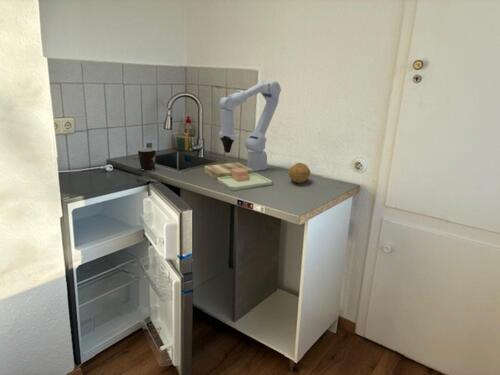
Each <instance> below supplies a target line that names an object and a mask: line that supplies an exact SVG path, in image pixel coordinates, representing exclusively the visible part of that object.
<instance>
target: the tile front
mask: <svg viewBox="0 0 500 375" xmlns="http://www.w3.org/2000/svg"><path fill="white" fill-rule="evenodd" d="M232 179H234V180H235V181H237V182H240V181H247V180H250V176H249V175H245V176H237V177H236V176H234V175H233V174H232Z"/></svg>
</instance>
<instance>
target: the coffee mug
mask: <svg viewBox="0 0 500 375" xmlns="http://www.w3.org/2000/svg"><path fill="white" fill-rule="evenodd" d="M156 150H157V148H154V147H141V148H138V149H137V154H138V159H139V164H140V169H144V170H152V169H154V170H155V169H156V168H155V166H156V165H155V164H156V152H157V151H156ZM152 171H153V170H152Z"/></svg>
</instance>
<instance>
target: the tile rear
mask: <svg viewBox="0 0 500 375" xmlns="http://www.w3.org/2000/svg"><path fill="white" fill-rule="evenodd" d="M231 174H233V175H234V176H236V177H237V176H245V175H248V170H246V169H244V168H237V169H231Z"/></svg>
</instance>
